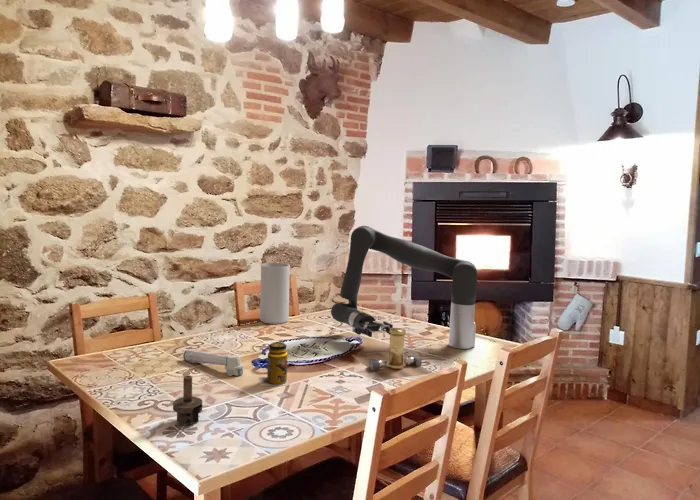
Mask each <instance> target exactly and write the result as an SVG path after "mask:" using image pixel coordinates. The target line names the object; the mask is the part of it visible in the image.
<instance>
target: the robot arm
mask: <svg viewBox="0 0 700 500" xmlns="http://www.w3.org/2000/svg"><path fill="white" fill-rule="evenodd" d="M349 245H350V246H349V255H348V261H347V266H346V269H345V273H344V277H343V280H342V283H341V284H342V285H341V287H340V292H339V295H340V297H341V298H343V299H345V300H347V301H348V303H342V302H337V303H334V304H333V305H332V306H331V309H330V314H331V317H332V318H333V320H334V321H337V322H340V323H343V324H347V325H348V326H350V327H351V329H352V332H353V333H355V334H356V335H359V336H361V335H363V336H365V335H366V336H367V337H369V338H372V337H373V333H379V334H383V333H386V334H388V335H390V333H389V331H390V328H394V324H392V323H390V322H388V321H382V322H378V321H376V319H375V317H374V316H373V315H371V314H369V313H367V312H365V311H363V310H362V311H361V310H360V309H358V295H359V290H360V287H361V283H362V275H363V268H364V263H365V260H366V256H367V254H368V252H369V250H371V251H376V252H380V253H382V254H384V255H386V256H389V257H390V258H391V259H394V260H395V261H397V262H399V263H400V264H403V265H404V266H405V265H406V266H408V267H410V268H413V269H417V270H422V271H426V272H434V273H439V274H441V275H444V276H446V277H449V278H450V279H452V280H451V281H452V282H451V296H450V297H451V300H450V315H449V316H450V318H449V335H448V346H449V347H451V348H454V349H460V350H468V349H472V348H474V347H476V345H475V344H476V334H477V333H476V331H477V323H476V322H475V314H476V313H475V312H476V300H477V292H478V291H477V288H478V270H477V267H476V266H475V264H474V263H473V262H471V261H468V260H464V259H459V258H455V257H451V256H447V255H444V254H442V253H440V252H438V251H435V250H433V249H431V248H429V247H426V246H424V245H421V244H418V243H415V242H412V241H409V240H406V239H403V238H398V237H394V236H390V235H388V234H386V233H383V232H381V231H378V230H377V229H375V228H373V227H371V226H367V225H361V226H358V227H356V228H355V229H353V231H351V234H350V244H349Z"/></svg>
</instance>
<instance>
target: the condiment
mask: <svg viewBox="0 0 700 500" xmlns="http://www.w3.org/2000/svg"><path fill="white" fill-rule="evenodd" d="M266 369H267V372H266V375H267V376H260V377H259V383H260V387H270V386H272V387H274V386H275V387H276V386H277V387H278V386H279V387H280V386H289V385H290V383H289V380H288V352H287V344H286V343H285V342H279V341H278V342H272V343H270V344H269V346H268V353H267V368H266Z"/></svg>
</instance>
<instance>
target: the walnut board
mask: <svg viewBox="0 0 700 500" xmlns="http://www.w3.org/2000/svg"><path fill="white" fill-rule="evenodd" d="M350 356H351V357H352V358H354V359H355V360H357V361H358V363H359V362H360V363H361V365H364V366H365V367H366V368H367V369H369V370H371V369H370V368H369V359H377V360H378V361H385V360H386V362H387V367H386V368H379V371H373V373H375V374H377V375H378V376H379V377H380V378H382V379H383V380H391V379H398V378H399V379H400V378H407V377H414V376H422V375H430V374H431V373H432V374H433V372H431V371H430V370H429V369H427V368H424V366H422V365H421V366H417V367H416V366H413V365H411V364H410V365H405V364H404V359H405V358H407V357H406V356H404V355H403V364H404V368H403V369H401V370H392V369H389V368H388V362H389V350H387V351H378V352H377V351H376V352H368V353H357V354H350Z"/></svg>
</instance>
